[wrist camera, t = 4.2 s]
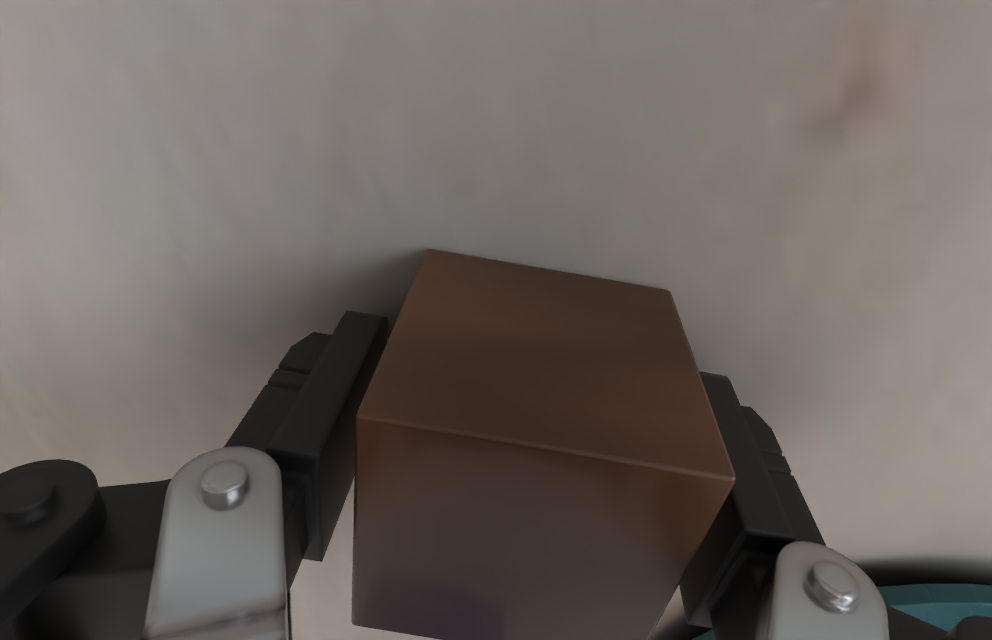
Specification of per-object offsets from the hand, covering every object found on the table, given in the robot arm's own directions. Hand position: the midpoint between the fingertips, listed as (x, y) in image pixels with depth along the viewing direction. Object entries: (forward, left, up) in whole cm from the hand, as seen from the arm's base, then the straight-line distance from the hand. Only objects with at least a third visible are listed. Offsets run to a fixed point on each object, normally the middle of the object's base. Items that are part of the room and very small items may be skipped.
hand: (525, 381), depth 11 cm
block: (0, 0, 0) cm, 0 cm away
